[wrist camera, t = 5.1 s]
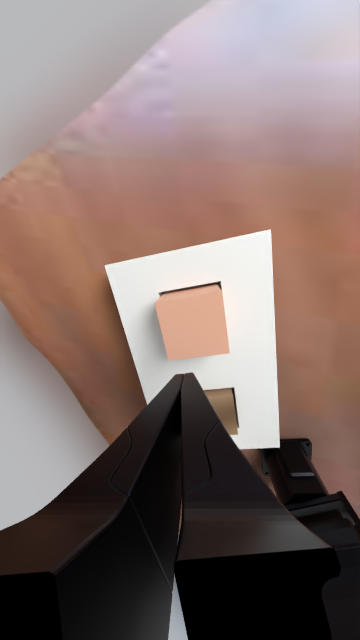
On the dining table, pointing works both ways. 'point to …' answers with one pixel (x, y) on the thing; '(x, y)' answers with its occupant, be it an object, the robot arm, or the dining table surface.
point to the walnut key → (224, 407)
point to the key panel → (241, 322)
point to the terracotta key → (193, 322)
